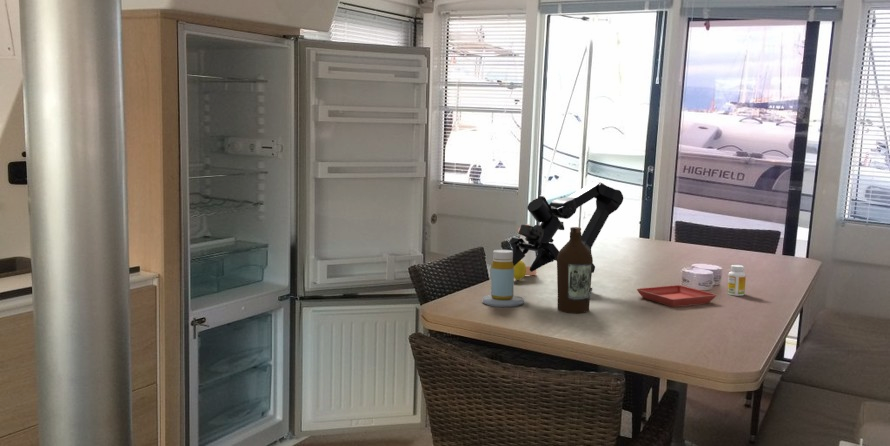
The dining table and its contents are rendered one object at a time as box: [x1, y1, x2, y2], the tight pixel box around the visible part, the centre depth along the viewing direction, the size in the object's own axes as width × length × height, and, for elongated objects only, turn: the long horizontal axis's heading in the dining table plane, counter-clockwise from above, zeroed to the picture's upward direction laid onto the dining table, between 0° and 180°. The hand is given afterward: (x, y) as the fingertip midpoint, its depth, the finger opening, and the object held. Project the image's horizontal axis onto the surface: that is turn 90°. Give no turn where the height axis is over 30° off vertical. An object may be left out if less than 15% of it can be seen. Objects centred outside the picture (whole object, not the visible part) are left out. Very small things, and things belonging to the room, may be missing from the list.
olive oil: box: [556, 226, 594, 314], centre depth 227 cm, size 11×11×25 cm
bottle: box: [490, 249, 515, 300], centre depth 237 cm, size 7×7×15 cm
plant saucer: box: [636, 284, 717, 308], centre depth 243 cm, size 18×18×3 cm
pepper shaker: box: [517, 223, 537, 276], centre depth 285 cm, size 7×7×19 cm
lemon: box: [514, 260, 526, 281], centre depth 273 cm, size 6×6×8 cm
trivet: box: [482, 294, 525, 308], centre depth 237 cm, size 13×13×1 cm
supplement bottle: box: [727, 264, 747, 297], centre depth 253 cm, size 5×5×10 cm
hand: (520, 268), depth 241 cm, fingers open, 9 cm apart
